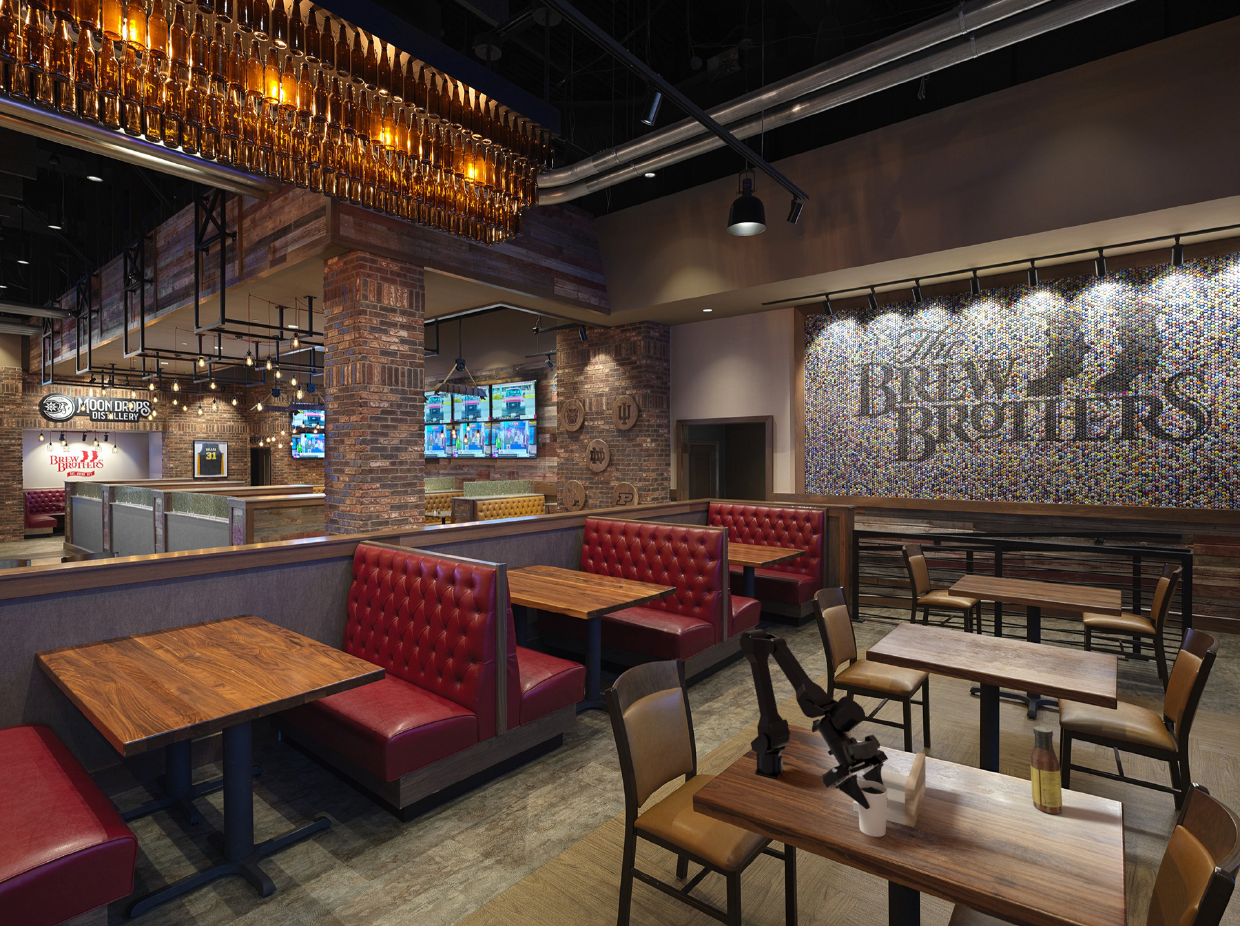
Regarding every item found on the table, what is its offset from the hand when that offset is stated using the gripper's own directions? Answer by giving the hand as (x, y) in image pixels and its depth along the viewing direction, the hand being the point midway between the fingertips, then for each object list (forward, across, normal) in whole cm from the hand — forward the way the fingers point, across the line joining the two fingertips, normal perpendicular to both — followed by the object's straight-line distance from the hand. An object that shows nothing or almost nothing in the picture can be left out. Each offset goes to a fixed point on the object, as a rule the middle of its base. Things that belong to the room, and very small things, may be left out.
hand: (877, 804), depth 147 cm
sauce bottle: (+16, +45, -7) cm, 48 cm away
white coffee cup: (+4, 0, +6) cm, 7 cm away
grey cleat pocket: (-1, +16, +11) cm, 19 cm away
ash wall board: (+3, +19, +6) cm, 20 cm away
